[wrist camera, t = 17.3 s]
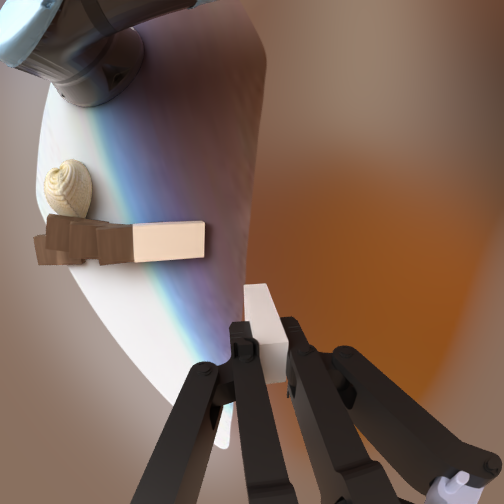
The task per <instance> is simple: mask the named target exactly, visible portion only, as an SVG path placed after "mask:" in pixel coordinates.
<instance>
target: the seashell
mask: <svg viewBox="0 0 504 504" xmlns="http://www.w3.org/2000/svg"><path fill="white" fill-rule="evenodd" d="M44 192H45V197H46V199H47V202H48V204H49V205H50V207H51V208H52V209H53V210H54V211H55V212H56V213H57V214H59V215H63V216H70V217H77V218H84V219H85V217H86V215H87V211H88V209H89V206H90V202H91V196H92V183H91V177H90V174H89V172H88V170H87V168H86V167H85V166H84V165H83V164H82V163H81V162H79V161H77V160H73V159H70V160H66V161H64V162H63V163H62V164H61V165H60V169H58V168H53V169H51V170H50V171H49V172H48V174H47V175H46V178H45V182H44Z"/></svg>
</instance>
